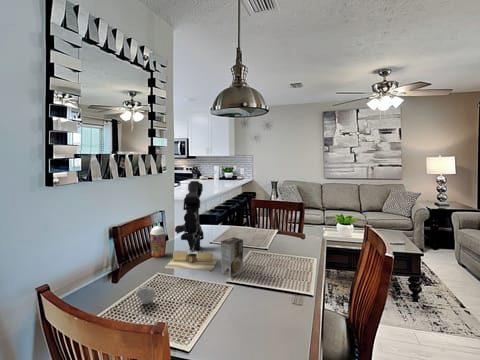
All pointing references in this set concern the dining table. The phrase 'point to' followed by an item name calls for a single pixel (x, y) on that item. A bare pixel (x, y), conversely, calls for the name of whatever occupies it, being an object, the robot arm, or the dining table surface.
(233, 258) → the coffee box
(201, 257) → the loose leaf
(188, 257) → the hinge base
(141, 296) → the grey head sculpture
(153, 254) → the smoothie
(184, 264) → the mount board
